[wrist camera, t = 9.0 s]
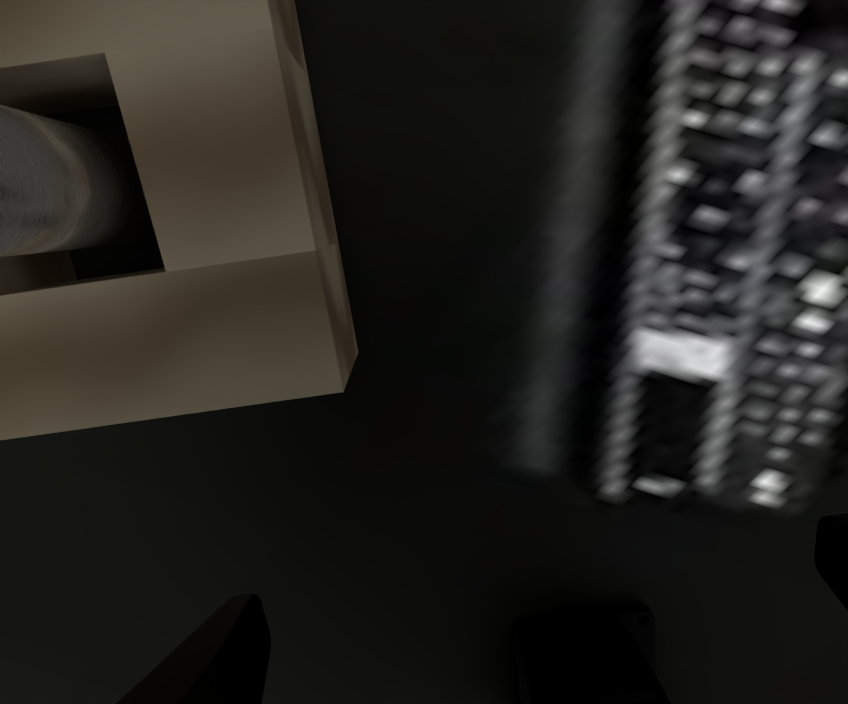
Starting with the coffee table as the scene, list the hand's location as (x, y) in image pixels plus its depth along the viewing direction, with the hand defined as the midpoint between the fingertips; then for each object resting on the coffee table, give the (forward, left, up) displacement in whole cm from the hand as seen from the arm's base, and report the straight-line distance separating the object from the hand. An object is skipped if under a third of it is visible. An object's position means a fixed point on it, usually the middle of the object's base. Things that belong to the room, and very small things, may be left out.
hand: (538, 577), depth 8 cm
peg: (+8, +11, -12) cm, 18 cm away
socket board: (+8, +11, -12) cm, 18 cm away
